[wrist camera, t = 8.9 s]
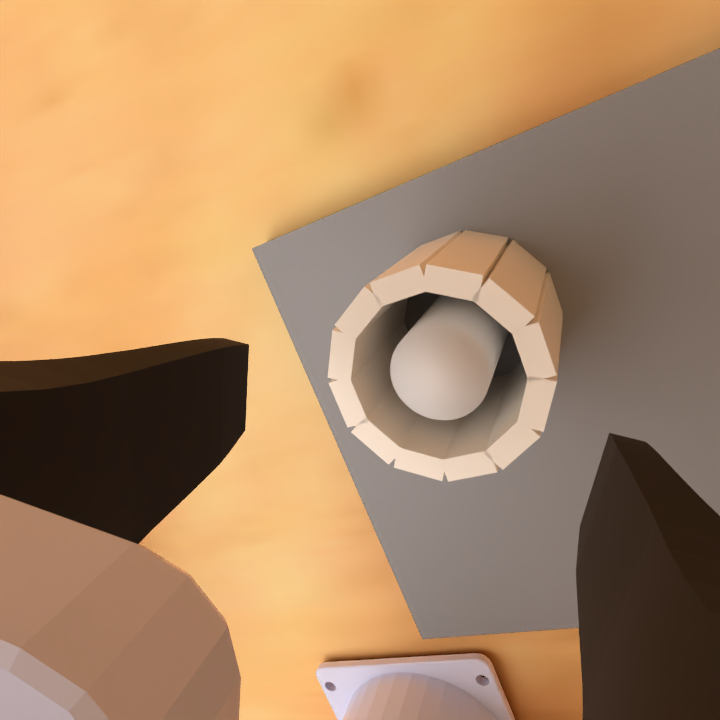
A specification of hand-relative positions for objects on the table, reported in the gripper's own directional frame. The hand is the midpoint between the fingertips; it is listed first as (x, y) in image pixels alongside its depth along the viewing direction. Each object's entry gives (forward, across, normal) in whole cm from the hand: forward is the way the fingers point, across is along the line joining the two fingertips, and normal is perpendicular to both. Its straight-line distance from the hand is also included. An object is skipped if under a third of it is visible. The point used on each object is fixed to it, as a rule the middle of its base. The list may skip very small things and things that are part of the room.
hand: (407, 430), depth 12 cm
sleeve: (+7, 0, 0) cm, 7 cm away
